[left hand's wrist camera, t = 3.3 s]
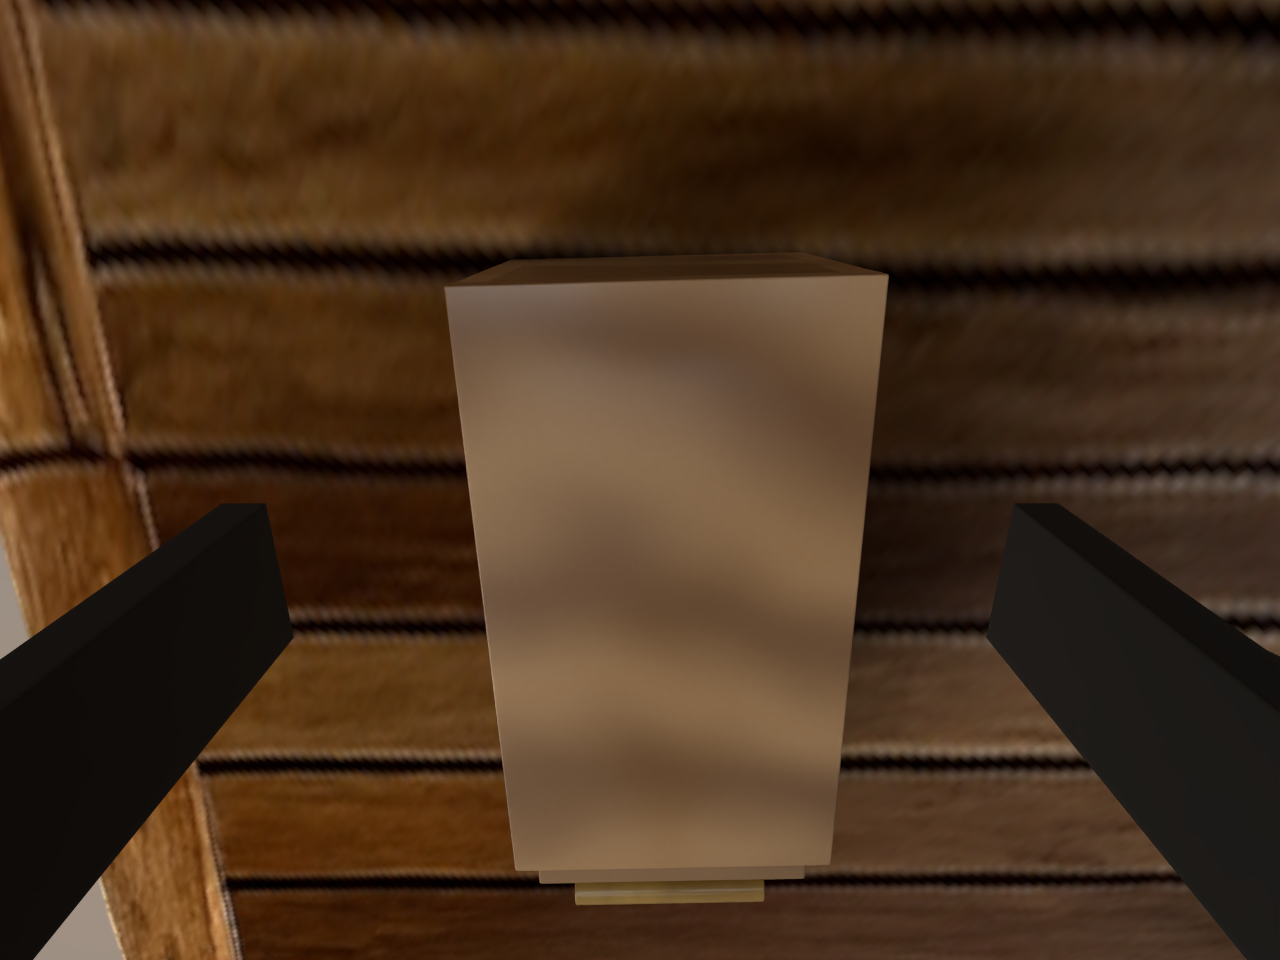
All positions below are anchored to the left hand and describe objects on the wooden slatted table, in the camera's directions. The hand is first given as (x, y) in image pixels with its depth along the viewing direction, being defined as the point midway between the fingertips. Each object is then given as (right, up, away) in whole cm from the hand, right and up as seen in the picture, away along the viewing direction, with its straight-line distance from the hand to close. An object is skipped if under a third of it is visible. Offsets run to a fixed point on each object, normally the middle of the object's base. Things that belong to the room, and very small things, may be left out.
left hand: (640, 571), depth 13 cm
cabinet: (+1, +1, +18) cm, 19 cm away
